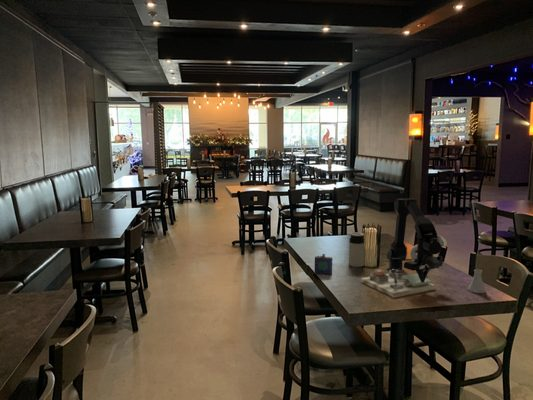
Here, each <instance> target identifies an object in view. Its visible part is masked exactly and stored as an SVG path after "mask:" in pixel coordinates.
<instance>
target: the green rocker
mask: <svg viewBox="0 0 533 400" xmlns="http://www.w3.org/2000/svg"><path fill="white" fill-rule="evenodd" d="M401 278H402V279H403V280H405V279H408V280H409V284H410V285H412V286H413V287H414V286H419V285H424V284H429V283H431V284H432V280H431V279H430V278H429V277H428V278H426V279H425V281H424V282H421V281H420V278H419V276H418V274H417V272H416V273H411V274H410V273H409V274H408V275H404V276H402V277H401Z"/></svg>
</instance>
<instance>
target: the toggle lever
mask: <svg viewBox="0 0 533 400" xmlns="http://www.w3.org/2000/svg"><path fill="white" fill-rule="evenodd" d="M391 272H392V274H393V278H394V282H395V284H397V279H396V275H395V270H394V269H391Z"/></svg>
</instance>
